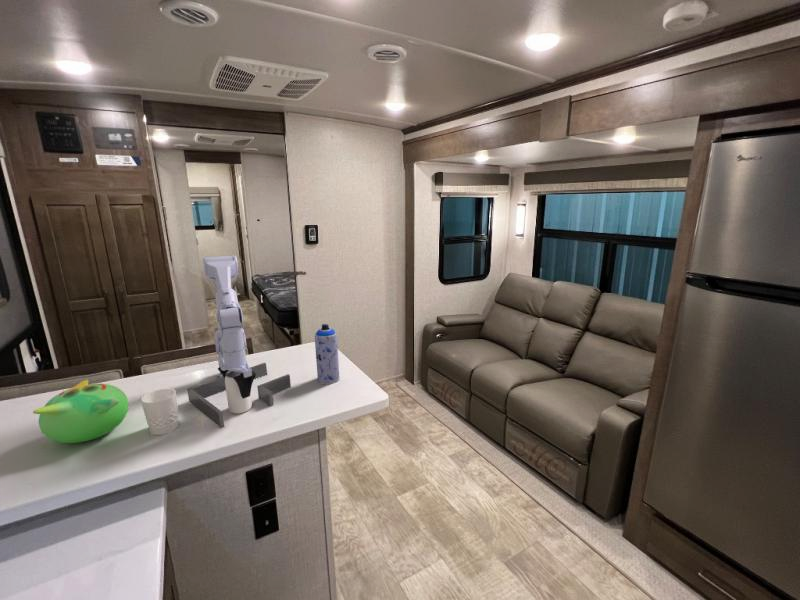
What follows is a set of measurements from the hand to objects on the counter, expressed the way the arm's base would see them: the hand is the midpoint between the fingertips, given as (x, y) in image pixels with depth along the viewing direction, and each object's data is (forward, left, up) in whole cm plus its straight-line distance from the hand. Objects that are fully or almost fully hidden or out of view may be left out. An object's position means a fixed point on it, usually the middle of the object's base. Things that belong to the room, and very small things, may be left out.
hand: (239, 392), depth 109 cm
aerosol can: (+3, +30, -6) cm, 31 cm away
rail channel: (-7, +5, -6) cm, 10 cm away
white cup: (-8, -18, -6) cm, 21 cm away
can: (-1, +1, -6) cm, 6 cm away
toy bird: (-19, -32, -6) cm, 38 cm away
